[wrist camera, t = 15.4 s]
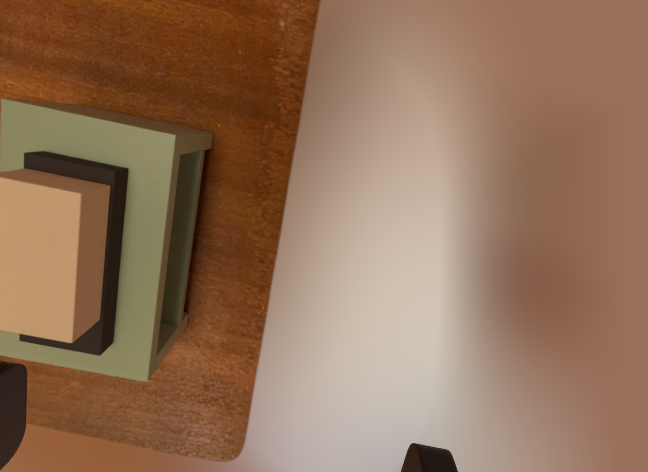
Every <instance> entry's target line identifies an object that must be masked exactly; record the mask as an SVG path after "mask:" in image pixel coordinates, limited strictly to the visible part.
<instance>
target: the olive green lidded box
mask: <svg viewBox="0 0 648 472" xmlns="http://www.w3.org/2000/svg"><path fill="white" fill-rule="evenodd" d="M212 139H213V133H212V132H207V131H202V130H197V129H193V128H188V127H183V126H179V125H174V124H169V123H164V122H160V121H155V120H150V119H146V118H141V117H136V116H131V115H127V114H122V113H117V112H113V111H108V110H103V109H99V108H94V107H89V106H84V105H74V104H63V103H51V102H40V101H29V100H17V99H5V98H2V99H1V142H0V172H5V171H13V170H20V169H24V153H27V152H38V151H46V152H51V153H56V154H61V155H66V156H70V157H75V158H80V159H85V160H90V161H95V162H100V163H104V164H109V165H114V166H119V167H124V168H128V180H127V191H126V203H125V214H124V225H123V237H122V248H121V259H120V271H119V282H118V293H117V305H116V316H115V327H114V339H113V343H112V344H111V345H110V346H109V347H108V348H107V350H106V351H105V352H104V353H103V354H102V355H101V356H98V355H92V354H87V353H82V352H76V351H71V350H65V349H60V348H55V347H49V346H44V345H38V344H33V343H27V342H22V341H19V333H13V332H8V331H3V330H0V355H1V356H7V357H12V358H18V359H23V360H29V361H34V362H40V363H45V364H51V365H56V366H61V367H67V368H72V369H78V370H83V371H89V372H94V373H100V374H105V375H111V376H116V377H122V378H127V379H132V380H138V381H143V382H148V380H149V379H150V377H151V376H152V375H153V373H154V372H155V371H156V369H157V368H158V366H159V365H160V363H161V362H162V361H163V359H164V358H165V356H166V355H167V353H168V352H169V351H170V349H171V348H172V346H173V345H174V343H175V342H176V341H177V339H178V338H179V336H180V335H181V333H182V332H183V331H184V329H185V328H186V326H187V321H188V313H185V312H184V304H185V297H186V289H187V282H188V274H189V267H190V259H191V252H192V244H193V237H194V229H195V222H196V214H197V207H198V199H199V192H200V184H201V177H202V169H203V162H204V154H205V150H207V149H211V146H212Z"/></svg>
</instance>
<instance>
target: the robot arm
mask: <svg viewBox="0 0 648 472" xmlns="http://www.w3.org/2000/svg"><path fill="white" fill-rule="evenodd" d="M26 400H27V370H26V368H25V366H24V365H22V364H19V363H13V362H8V361H3V360H0V470H1V469H2V468H3V467H4V466H5V465H6V464H7V463H8V462H9V460H10V459H11V458H12V457H13V455H14V454H15V452H16V451H17V449H18V447H19V445H20V443H21V441H22V439H23V436H24V433H25V428H26ZM401 472H458V471H457V468H456V465H455V462H454V459H453V457H452V454H451V453H450V451H449V450H446V449H441V448H436V447H431V446H426V445H420V444H416V443H412V444H411V445H410V447H409V449H408V451H407V454H406V457H405V460H404V463H403V467H402V470H401Z"/></svg>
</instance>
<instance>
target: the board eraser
mask: <svg viewBox="0 0 648 472" xmlns="http://www.w3.org/2000/svg"><path fill="white" fill-rule="evenodd" d="M127 180H128V168H124V167H119V166H114V165H109V164H104V163H100V162H95V161H90V160H85V159H80V158H75V157H70V156H66V155H61V154H56V153H51V152H46V151H38V152H27V153H24V169H20V170H13V171H5V172H0V330H3V331H8V332H13V333H19V341H22V342H27V343H33V344H38V345H44V346H49V347H55V348H60V349H65V350H71V351H76V352H82V353H87V354H92V355H98V356H101V355H102V354H103V353H104V352H105V351H106V350H107V348H108V347H109V346H110V345H111V344H112V343H113V339H114V327H115V316H116V305H117V293H118V282H119V271H120V259H121V248H122V237H123V225H124V214H125V203H126V191H127Z"/></svg>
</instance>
